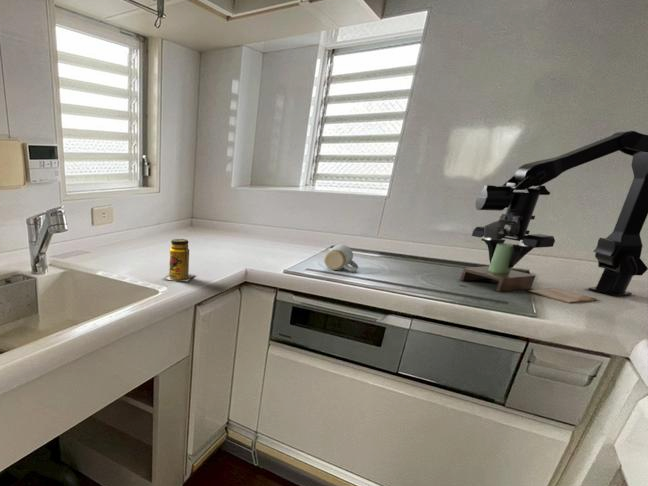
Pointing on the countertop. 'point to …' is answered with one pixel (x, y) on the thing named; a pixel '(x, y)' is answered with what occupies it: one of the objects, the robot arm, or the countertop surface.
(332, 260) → the ceramic mug
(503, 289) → the shelf
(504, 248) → the spice tin
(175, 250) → the condiment
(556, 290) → the cork pad
